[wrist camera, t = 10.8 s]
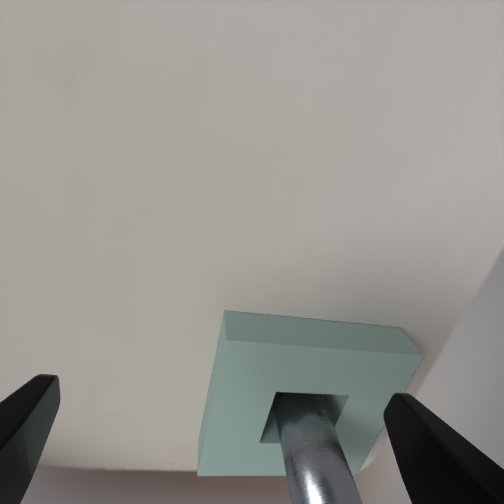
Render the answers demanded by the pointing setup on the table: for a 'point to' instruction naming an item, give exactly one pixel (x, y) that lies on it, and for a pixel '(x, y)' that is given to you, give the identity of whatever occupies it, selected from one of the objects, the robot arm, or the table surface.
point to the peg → (312, 451)
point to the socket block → (298, 386)
